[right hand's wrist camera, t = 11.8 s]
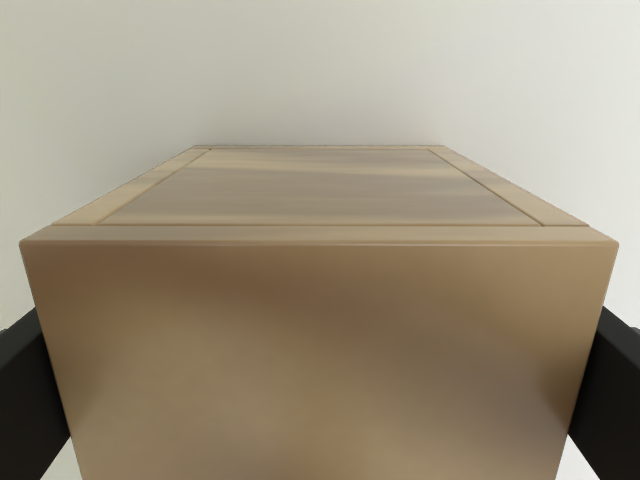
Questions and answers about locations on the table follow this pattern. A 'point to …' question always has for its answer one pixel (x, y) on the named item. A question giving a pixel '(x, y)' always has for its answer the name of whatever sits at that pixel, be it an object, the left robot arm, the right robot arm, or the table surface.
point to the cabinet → (318, 318)
